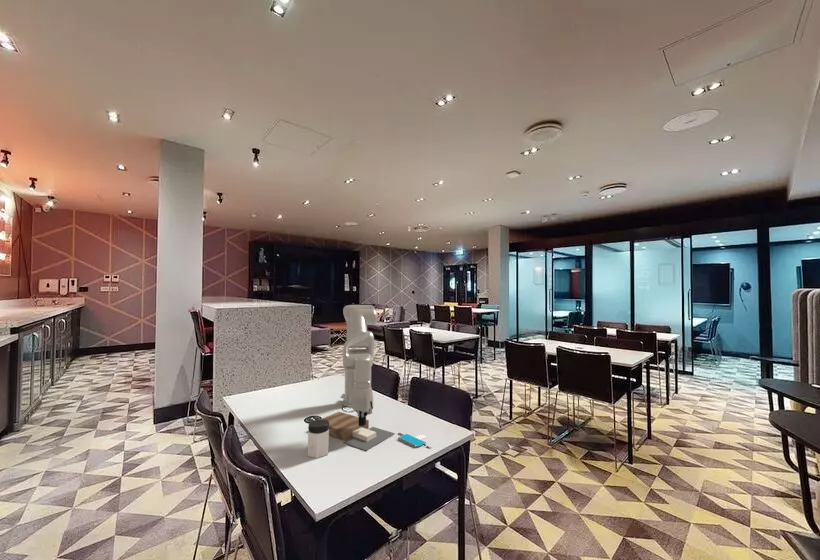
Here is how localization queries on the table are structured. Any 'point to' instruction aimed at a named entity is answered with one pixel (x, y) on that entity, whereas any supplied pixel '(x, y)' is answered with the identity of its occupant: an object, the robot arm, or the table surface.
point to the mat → (367, 445)
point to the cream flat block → (364, 434)
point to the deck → (343, 425)
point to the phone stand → (412, 440)
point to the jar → (318, 438)
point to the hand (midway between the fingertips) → (362, 425)
